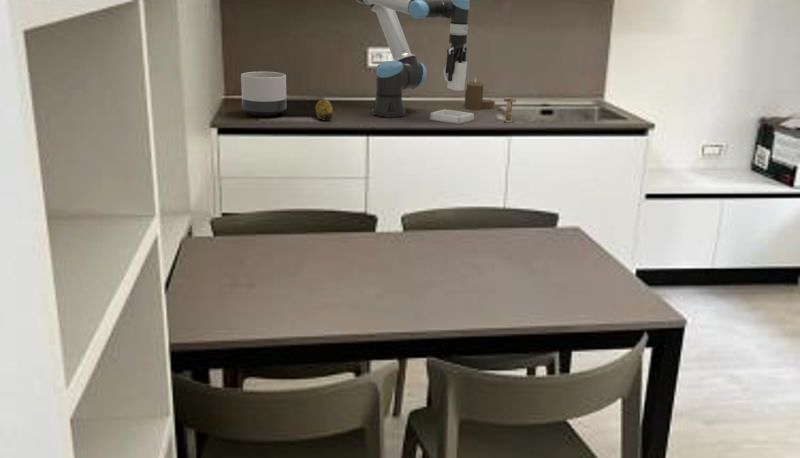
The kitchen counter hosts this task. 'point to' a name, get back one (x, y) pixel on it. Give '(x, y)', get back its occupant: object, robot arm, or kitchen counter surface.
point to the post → (509, 108)
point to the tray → (451, 116)
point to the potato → (324, 109)
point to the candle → (476, 97)
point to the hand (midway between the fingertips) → (454, 87)
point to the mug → (458, 75)
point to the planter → (263, 92)
